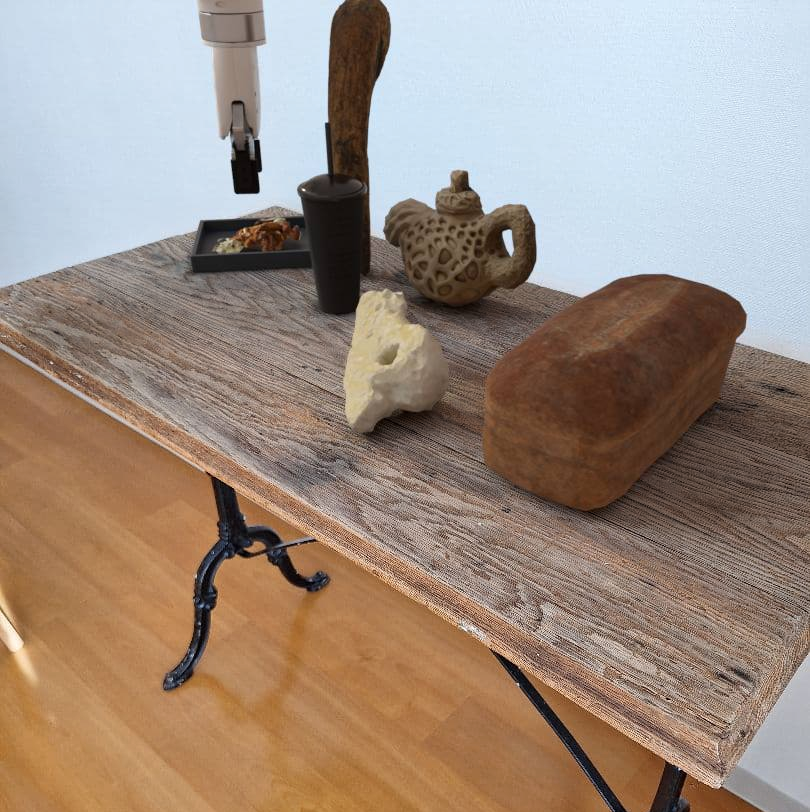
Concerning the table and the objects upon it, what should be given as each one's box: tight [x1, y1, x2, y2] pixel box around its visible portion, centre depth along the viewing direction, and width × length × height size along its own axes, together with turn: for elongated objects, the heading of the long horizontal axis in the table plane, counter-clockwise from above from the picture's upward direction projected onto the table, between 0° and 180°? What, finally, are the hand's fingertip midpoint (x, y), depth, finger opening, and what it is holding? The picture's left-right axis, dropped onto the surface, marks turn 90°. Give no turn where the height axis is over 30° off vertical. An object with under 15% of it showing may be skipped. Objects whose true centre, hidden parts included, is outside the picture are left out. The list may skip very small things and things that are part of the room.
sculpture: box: [327, 0, 392, 277], centre depth 96 cm, size 7×7×30 cm
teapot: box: [382, 169, 538, 308], centre depth 93 cm, size 21×12×15 cm, turn 49°
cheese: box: [342, 287, 450, 434], centre depth 78 cm, size 15×7×15 cm
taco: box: [213, 215, 302, 254], centre depth 110 cm, size 7×12×4 cm, turn 129°
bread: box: [481, 273, 748, 512], centre depth 71 cm, size 14×28×12 cm, turn 141°
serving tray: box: [190, 215, 313, 273], centre depth 111 cm, size 17×14×2 cm
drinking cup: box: [296, 121, 367, 315], centre depth 91 cm, size 8×8×20 cm
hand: (249, 182), depth 106 cm, fingers open, 9 cm apart
